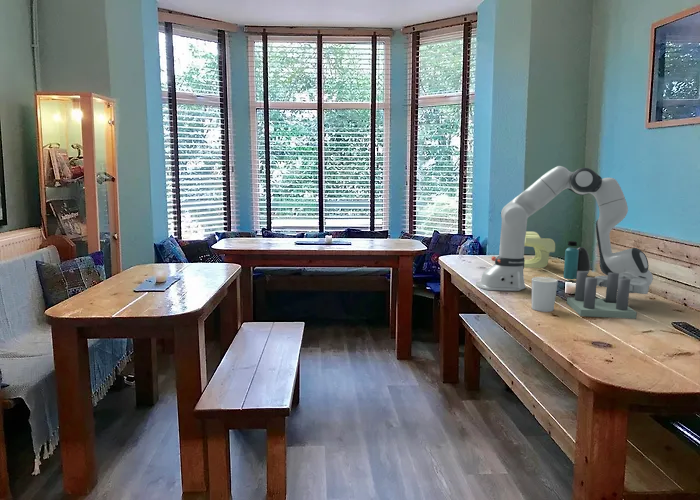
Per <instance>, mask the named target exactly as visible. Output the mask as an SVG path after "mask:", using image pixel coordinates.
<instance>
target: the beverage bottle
mask: <svg viewBox="0 0 700 500" xmlns="http://www.w3.org/2000/svg"><path fill="white" fill-rule="evenodd" d="M567 243H568V244H567V246H570V247H567V248H566V249H565V250H564V251H565V252H564V263H563V274H562V275H563V278H564V279H566V280H576V277H577V270H578V254H579V250H578V249H577V248H578V247H577V246H578V241H575V240H568V241H567Z"/></svg>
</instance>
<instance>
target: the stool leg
mask: <svg viewBox="0 0 700 500" xmlns="http://www.w3.org/2000/svg"><path fill="white" fill-rule="evenodd" d="M618 278H619V274H618V273H612V272H610V273H608V278H607V287H606V291H605V299H606V300H605V302H606V303H616V300H617V291H618Z"/></svg>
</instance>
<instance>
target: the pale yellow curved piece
mask: <svg viewBox="0 0 700 500" xmlns="http://www.w3.org/2000/svg"><path fill="white" fill-rule="evenodd" d="M524 247H531V248H533V249H534V253H535V254H534V257H533V258H529V259H525V261H524V269H527V268H528V269H529V268H530V269H532V268H534V269H536V268H537V269H543V268H546V267H547V266H548V264H549V259H550V253H556V242H555V241H554V239H552V238H550V237H549V238H546V237H545V238H544V237H541V236H540V235H539V233H538V232H537V231H526V236H525V245H524Z"/></svg>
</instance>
